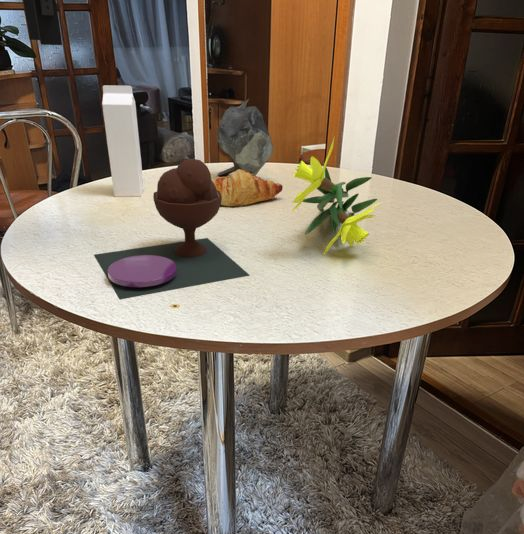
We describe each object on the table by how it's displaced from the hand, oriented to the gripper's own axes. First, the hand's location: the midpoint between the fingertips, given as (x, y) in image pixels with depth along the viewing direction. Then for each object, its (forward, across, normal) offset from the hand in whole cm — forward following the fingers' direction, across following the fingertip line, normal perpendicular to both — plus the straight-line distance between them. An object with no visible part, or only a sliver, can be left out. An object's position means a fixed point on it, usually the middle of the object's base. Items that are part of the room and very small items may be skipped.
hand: (44, 42), depth 75 cm
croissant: (+30, +12, -36) cm, 48 cm away
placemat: (+30, -18, -11) cm, 37 cm away
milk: (+31, +26, -16) cm, 44 cm away
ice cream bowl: (+29, -14, -16) cm, 36 cm away
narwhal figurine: (+30, +26, -45) cm, 60 cm away
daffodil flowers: (+29, -16, -43) cm, 55 cm away
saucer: (+29, -22, -6) cm, 37 cm away
